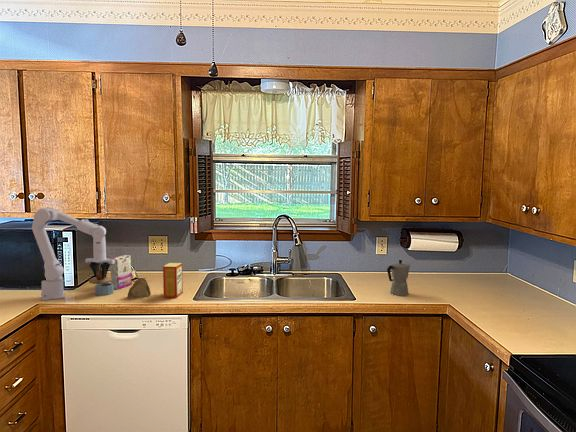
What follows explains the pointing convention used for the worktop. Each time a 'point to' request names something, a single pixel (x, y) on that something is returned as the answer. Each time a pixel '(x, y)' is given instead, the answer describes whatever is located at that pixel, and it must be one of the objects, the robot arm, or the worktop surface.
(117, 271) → the candy bar box
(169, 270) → the baking soda box
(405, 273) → the coffeepot
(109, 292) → the slate bowl
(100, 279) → the walnut lid
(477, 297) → the worktop surface
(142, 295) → the rock
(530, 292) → the worktop surface
